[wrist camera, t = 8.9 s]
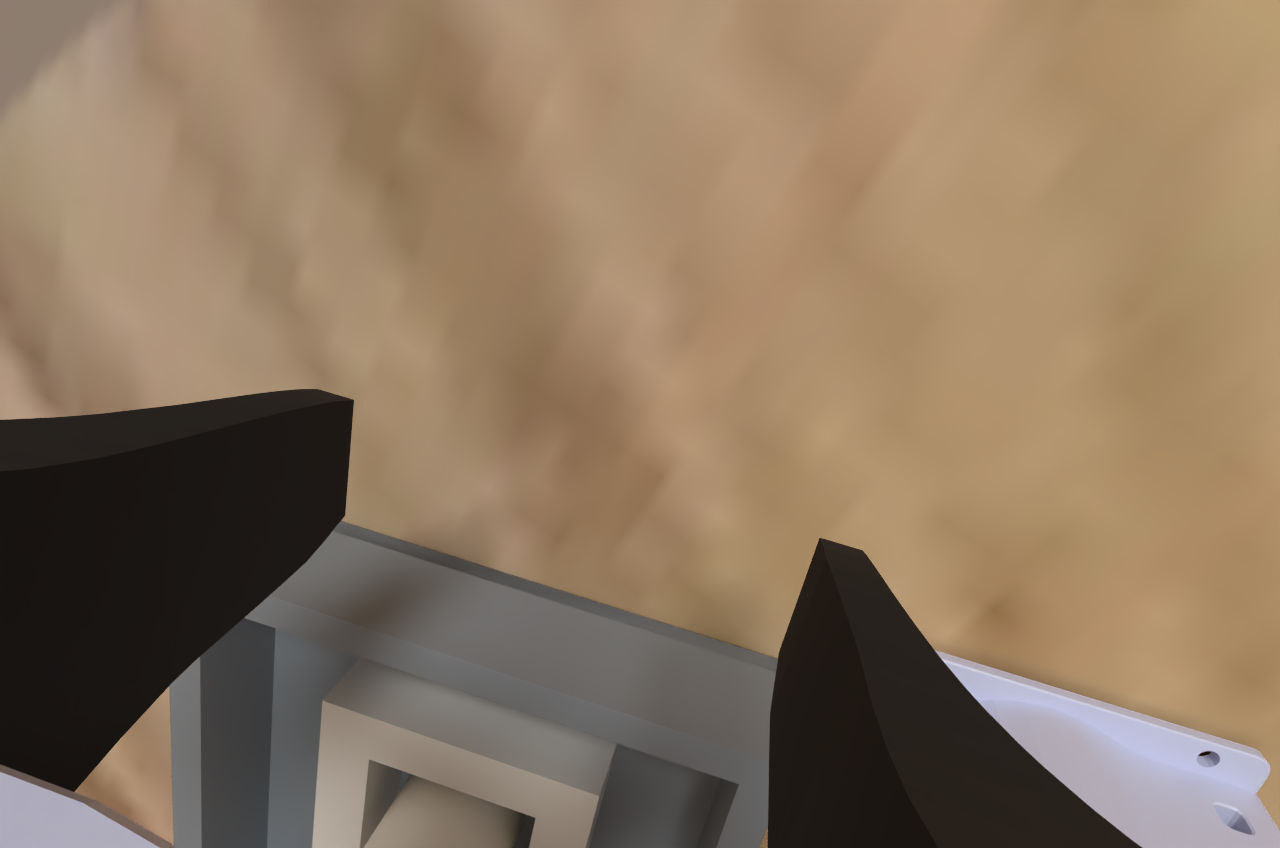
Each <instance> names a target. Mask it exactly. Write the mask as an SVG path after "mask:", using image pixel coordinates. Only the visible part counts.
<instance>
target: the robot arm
mask: <svg viewBox="0 0 1280 848" xmlns="http://www.w3.org/2000/svg"><path fill="white" fill-rule="evenodd" d="M353 404H354V400H352V399H349V398H345V397H342V396H339V395H335V394H332V393H329V392H325V391H322V390H318V389H298V390H285V391H276V392H267V393H259V394H252V395H244V396H237V397H230V398H223V399H216V400H209V401H202V402H195V403H188V404H181V405H173V406H164V407H156V408H147V409H138V410H130V411H121V412H113V413H104V414H94V415H82V416H69V417H55V418H34V419H13V420H0V848H175V847H174V846H173V845H172V844H171V843H170V842H168V841H166V840H164V839H163V838H161V837H159V836H157V835H156V834H154V833H152V832H151V831H149V830H147V829H145V828H144V827H142V826H140V825H139V824H137V823H135V822H133V821H132V820H130V819H128V818H127V817H125V816H123V815H121V814H120V813H118V812H116V811H115V810H113V809H111V808H109V807H108V806H106V805H104V804H103V803H101V802H99V801H96V800H94V799H91V798H88V797H86V796H83V795H80V794H78V793H75V792H74V791H75V790H76V789H77V788H78V787H79V786H80V784H81V783H82V782H83V781H84V780H85V779H86V778H87V776H88V775H89V774H90V773H91V772H92V771H93V769H94V768H95V767H96V766H97V765H98V764H99V763H100V761H101V760H102V759H103V758H104V757H105V756H106V754H107V753H108V752H109V751H110V750H111V749H112V748H113V746H114V745H115V744H116V743H117V742H118V741H119V739H120V738H121V737H122V736H123V735H124V734H125V733H126V732H127V731H128V730H129V729H130V728H131V727H132V725H133V724H134V723H135V722H136V721H137V720H138V719H139V718H140V717H141V716H142V715H143V714H144V712H145V711H146V710H147V709H148V708H149V707H150V706H151V705H152V704H153V703H154V702H155V701H156V699H157V698H158V697H159V696H160V695H161V694H162V693H163V692H164V691H165V690H166V689H167V688H168V687H169V685H170V684H171V683H173V682H174V681H175V680H176V679H177V678H178V677H179V676H180V675H181V674H182V673H183V672H184V671H185V670H186V669H187V668H188V667H189V666H190V665H191V664H192V663H193V662H194V661H196V660H197V659H198V658H199V657H200V656H201V655H202V654H204V653H205V652H206V651H207V650H208V649H209V648H210V647H211V646H213V645H214V644H215V643H216V642H217V641H218V640H219V639H221V638H222V637H223V636H224V635H225V634H226V633H227V632H229V631H230V630H231V629H232V628H233V627H234V626H235V625H237V624H238V623H239V622H240V621H241V620H242V619H243V618H245V617H246V616H247V615H248V614H249V613H250V612H251V611H252V610H254V609H255V608H256V607H257V606H258V605H259V604H260V603H262V602H263V601H264V600H265V599H266V598H267V597H268V596H270V595H271V594H272V593H273V592H274V591H275V590H276V589H277V588H278V587H280V586H281V585H282V584H283V583H284V582H285V581H286V580H287V579H288V578H290V577H291V576H292V575H293V574H294V573H295V572H296V571H297V570H298V569H299V568H300V567H302V566H303V565H304V564H305V563H306V562H307V561H308V560H309V558H310V557H311V556H312V555H313V554H314V553H315V552H316V550H317V549H318V548H319V547H320V546H321V545H322V544H323V542H324V541H325V540H326V539H327V537H328V536H329V535H330V534H331V532H332V531H333V530H334V529H335V527H336V526H337V525H338V524H339V522H340V521H341V520H342V519H343V517H344V516H345V509H346V496H347V483H348V470H349V457H350V443H351V430H352V417H353ZM1205 751H1212V752H1211V753H1210V754H1209V755H1205V756H1198V755H1199V754H1200V753H1202V752H1205ZM1270 771H1271V770H1270V765H1269V763H1268V762H1267V761H1266V759H1265V758H1264V756H1263V755H1262V754H1261V753H1260V752H1259V751H1258V750H1256V749H1254V748H1252V747H1248V746H1245V745H1242V744H1239V743H1235V742H1232V741H1229V740H1226V739H1222V738H1219V737H1216V736H1213V735H1209V734H1206V733H1203V732H1200V731H1196V730H1193V729H1190V728H1187V727H1183V726H1180V725H1177V724H1174V723H1170V722H1167V721H1164V720H1161V719H1157V718H1154V717H1151V716H1148V715H1144V714H1141V713H1138V712H1135V711H1131V710H1128V709H1125V708H1122V707H1118V706H1115V705H1112V704H1109V703H1105V702H1102V701H1099V700H1095V699H1092V698H1089V697H1086V696H1082V695H1079V694H1076V693H1073V692H1069V691H1066V690H1063V689H1060V688H1056V687H1053V686H1050V685H1047V684H1043V683H1040V682H1037V681H1034V680H1030V679H1027V678H1024V677H1021V676H1017V675H1014V674H1011V673H1008V672H1004V671H1001V670H998V669H995V668H991V667H988V666H985V665H982V664H978V663H975V662H972V661H969V660H965V659H962V658H959V657H956V656H952V655H949V654H946V653H943V652H939V651H936V650H934V649H933V648H932V646H931V645H930V644H929V643H928V641H927V640H926V639H925V637H924V636H923V635H922V633H921V632H920V631H919V629H918V628H917V627H916V625H915V624H914V622H913V621H912V620H911V618H910V617H909V616H908V614H907V613H906V611H905V610H904V609H903V607H902V606H901V604H900V603H899V601H898V600H897V599H896V597H895V596H894V594H893V593H892V591H891V590H890V588H889V587H888V585H887V584H886V583H885V581H884V580H883V578H882V577H881V575H880V574H879V572H878V571H877V569H876V568H875V566H874V565H873V564H872V562H871V561H870V559H869V558H868V557H867V555H866V554H865V553H864V552H863V550H859V549H856V548H853V547H849V546H846V545H842V544H839V543H836V542H832V541H829V540H826V539H822V538H820V539H819V541H818V544H817V547H816V550H815V553H814V556H813V558H812V561H811V564H810V567H809V570H808V572H807V575H806V578H805V581H804V584H803V586H802V589H801V592H800V595H799V598H798V601H797V603H796V606H795V609H794V612H793V615H792V617H791V620H790V623H789V626H788V629H787V632H786V634H785V637H784V640H783V643H782V646H781V648H780V651H779V656H778V663H777V669H776V675H775V682H774V689H773V696H772V703H771V710H770V736H769V797H768V848H1280V830H1279V829H1278V827H1277V826H1276V824H1275V822H1274V821H1273V819H1272V818H1271V816H1270V815H1269V813H1268V812H1267V810H1266V809H1265V807H1264V806H1263V804H1262V803H1261V801H1260V799H1259V798H1258V796H1257V795H1256V793H1257V792H1258V790H1259V789H1260V787H1261V786H1262V785H1263V783H1264V782H1265V780H1266V779H1267V778H1268V776H1269V773H1270Z"/></svg>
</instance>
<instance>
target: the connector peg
mask: <svg viewBox="0 0 1280 848" xmlns="http://www.w3.org/2000/svg"><path fill="white" fill-rule="evenodd" d="M527 816H528V815H526V814H523V813H520V812H517V811H515V810H512V809H509V808H506V807H503V806H500V805H498V804H495V803H492V802H489V801H486V800H483V799H481V798H478V797H475V796H472V795H469V794H466V793H464V792H461V791H458V790H455V789H452V788H449V787H446V786H444V785H441V784H438V783H435V782H432V781H429V780H427V779H424V778H421V777H418V776H415V775H412V774H411V775H410V776H409V778H408V779H407V781H406V782H405V784H404V786H403V787H402V789H401V790H400V792H399V793H398V795H397V796H396V798H395V800H394V801H393V803H392V804H391V806H390V807H389V809H388V810H387V812H386V814H385V815H384V817H383V818H382V820H381V821H380V823H379V824H378V826H377V828H376V829H375V831H374V832H373V834H372V835H371V837H370V838H369V840H368V842H367V843H366V845H365V846H364V848H514V846H515V844H516V841H517V839H518V837H519V835H520V832H521V830H522V828H523V825H524V823H525V821H526V818H527Z"/></svg>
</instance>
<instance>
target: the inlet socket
mask: <svg viewBox="0 0 1280 848" xmlns="http://www.w3.org/2000/svg"><path fill="white" fill-rule="evenodd" d="M617 744H618V743H615V742H612V741H609V740H606V739H603V738H600V737H597V736H594V735H591V734H588V733H585V732H582V731H579V730H576V729H573V728H570V727H567V726H564V725H561V724H558V723H555V722H552V721H549V720H546V719H543V718H540V717H537V716H534V715H531V714H528V713H525V712H523V711H520V710H517V709H514V708H511V707H508V706H505V705H502V704H499V703H496V702H493V701H490V700H487V699H484V698H481V697H478V696H475V695H472V694H469V693H466V692H463V691H460V690H457V689H454V688H451V687H448V686H445V685H442V684H439V683H436V682H433V681H430V680H427V679H424V678H421V677H418V676H416V675H413V674H410V673H407V672H404V671H401V670H398V669H395V668H392V667H389V666H386V665H383V664H380V663H377V662H374V661H371V660H368V659H365V658H362V657H360V658H359V659H358V660H357V661H356V662H355V664H354V665H353V666H352V667H351V668H350V669H349V671H348V672H347V673H346V674H345V675H344V676H343V677H342V679H341V680H340V681H339V682H338V683H337V684H336V686H335V687H334V688H333V689H332V690H331V691H330V692H329V694H328V695H327V696H326V697H325V698H324V699H323V701H322V714H321V728H320V742H319V756H318V770H317V784H316V798H315V812H314V826H313V840H312V848H364V846H365V845H366V843H367V842H368V840H369V838H370V837H371V835H372V834H373V832H374V831H375V829H376V828H377V826H378V824H379V823H380V821H381V820H382V818H383V817H384V815H385V814H386V812H387V810H388V809H389V807H390V806H391V804H392V803H393V801H394V800H395V798H396V796H397V795H398V793H399V791H400V783H401V775H402V771H404V772H407V773H410V774H412V775H415V776H418V777H421V778H424V779H427V780H429V781H432V782H435V783H438V784H441V785H444V786H446V787H449V788H452V789H455V790H458V791H461V792H464V793H466V794H469V795H472V796H475V797H478V798H481V799H483V800H486V801H489V802H492V803H495V804H498V805H500V806H503V807H506V808H509V809H512V810H515V811H517V812H520V813H523V814H526V815H529V816H532V817H534V818H535V823H534V827H533V832H532V836H531V840H530V845H529V848H590V844H591V840H592V837H593V833H594V829H595V825H596V822H597V818H598V814H599V811H600V807H601V803H602V799H603V796H604V792H605V788H606V785H607V781H608V777H609V774H610V770H611V766H612V762H613V759H614V755H615V751H616V748H617Z"/></svg>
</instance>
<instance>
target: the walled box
mask: <svg viewBox="0 0 1280 848" xmlns="http://www.w3.org/2000/svg"><path fill="white" fill-rule="evenodd" d="M360 657H362V658H365V659H368V660H371V661H374V662H377V663H380V664H383V665H386V666H389V667H392V668H395V669H398V670H401V671H404V672H407V673H410V674H413V675H416V676H418V677H421V678H424V679H427V680H430V681H433V682H436V683H439V684H442V685H445V686H448V687H451V688H454V689H457V690H460V691H463V692H466V693H469V694H472V695H475V696H478V697H481V698H484V699H487V700H490V701H493V702H496V703H499V704H502V705H505V706H508V707H511V708H514V709H517V710H520V711H523V712H525V713H528V714H531V715H534V716H537V717H540V718H543V719H546V720H549V721H552V722H555V723H558V724H561V725H564V726H567V727H570V728H573V729H576V730H579V731H582V732H585V733H588V734H591V735H594V736H597V737H600V738H603V739H606V740H609V741H612V742H615V743H618V744H617V748H616V751H615V755H614V759H613V762H612V766H611V770H610V774H609V777H608V781H607V785H606V788H605V792H604V796H603V799H602V803H601V807H600V811H599V814H598V818H597V822H596V825H595V829H594V833H593V837H592V840H591V844H590V848H759V846H760V843H761V841H762V838H763V836H764V833H765V831H766V828H767V826H768V797H769V736H770V710H771V703H772V696H773V689H774V682H775V675H776V669H777V663H778V659H776V658H773V657H770V656H767V655H763V654H760V653H757V652H754V651H751V650H748V649H744V648H741V647H738V646H735V645H732V644H729V643H725V642H722V641H719V640H716V639H713V638H710V637H706V636H703V635H700V634H697V633H694V632H691V631H687V630H684V629H681V628H678V627H675V626H672V625H668V624H665V623H662V622H659V621H656V620H653V619H649V618H646V617H643V616H640V615H637V614H634V613H630V612H627V611H624V610H621V609H618V608H615V607H611V606H608V605H605V604H602V603H599V602H596V601H592V600H589V599H586V598H583V597H580V596H577V595H573V594H570V593H567V592H564V591H561V590H558V589H554V588H551V587H548V586H545V585H542V584H539V583H535V582H532V581H529V580H526V579H523V578H520V577H516V576H513V575H510V574H507V573H504V572H501V571H497V570H494V569H491V568H488V567H485V566H482V565H478V564H475V563H472V562H469V561H466V560H463V559H459V558H456V557H453V556H450V555H447V554H444V553H440V552H437V551H434V550H431V549H428V548H425V547H421V546H418V545H415V544H412V543H409V542H406V541H402V540H399V539H396V538H393V537H390V536H387V535H383V534H380V533H377V532H374V531H371V530H368V529H364V528H361V527H358V526H355V525H352V524H349V523H345V522H342V521H340V522H339V524H338V525H337V526H336V527H335V529H334V530H333V531H332V532H331V534H330V535H329V536H328V537H327V539H326V540H325V541H324V542H323V544H322V545H321V546H320V547H319V548H318V549H317V550H316V552H315V553H314V554H313V555H312V556H311V557H310V558H309V560H308V561H307V562H306V563H305V564H304V565H303V566H302V567H300V568H299V569H298V570H297V571H296V572H295V573H294V574H293V575H292V576H291V577H290V578H288V579H287V580H286V581H285V582H284V583H283V584H282V585H281V586H280V587H278V588H277V589H276V590H275V591H274V592H273V593H272V594H271V595H270V596H268V597H267V598H266V599H265V600H264V601H263V602H262V603H260V604H259V605H258V606H257V607H256V608H255V609H254V610H252V611H251V612H250V613H249V614H248V615H247V616H246V617H245V618H243V619H242V620H241V621H240V622H239V623H238V624H237V625H235V626H234V627H233V628H232V629H231V630H230V631H229V632H227V633H226V634H225V635H224V636H223V637H222V638H221V639H219V640H218V641H217V642H216V643H215V644H214V645H213V646H211V647H210V648H209V649H208V650H207V651H206V652H205V653H204V654H202V655H201V656H200V657H199V658H198V659H197V660H196V661H194V662H193V663H192V664H191V665H190V666H189V667H188V668H187V669H186V670H185V671H184V672H183V673H182V674H181V675H180V676H179V677H178V678H177V679H176V680H175V681H174V682H173V683H171V684H170V685H169V688H170V725H171V761H172V798H173V834H174V847H175V848H312V840H313V826H314V812H315V798H316V784H317V770H318V756H319V742H320V728H321V714H322V701H323V699H324V698H325V697H326V696H327V695H328V694H329V692H330V691H331V690H332V689H333V688H334V687H335V686H336V684H337V683H338V682H339V681H340V680H341V679H342V677H343V676H344V675H345V674H346V673H347V672H348V671H349V669H350V668H351V667H352V666H353V665H354V664H355V662H356V661H357V660H358V659H359V658H360ZM410 775H411V774H410V773H407V772H404V771H402V775H401V783H400V790H401V789H402V787H403V786H404V784H405V782H406V781H407V779H408V778H409V776H410ZM399 792H400V791H399ZM534 823H535V818H534V817H532V816H529V815H528V816H527V818H526V821H525V823H524V825H523V828H522V830H521V832H520V835H519V837H518V839H517V841H516V844H515V846H514V848H529V845H530V840H531V836H532V832H533V827H534Z"/></svg>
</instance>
